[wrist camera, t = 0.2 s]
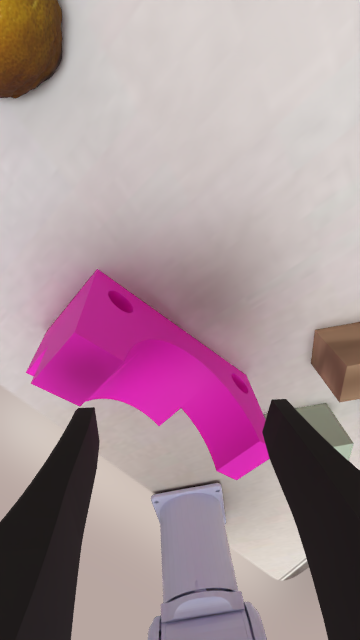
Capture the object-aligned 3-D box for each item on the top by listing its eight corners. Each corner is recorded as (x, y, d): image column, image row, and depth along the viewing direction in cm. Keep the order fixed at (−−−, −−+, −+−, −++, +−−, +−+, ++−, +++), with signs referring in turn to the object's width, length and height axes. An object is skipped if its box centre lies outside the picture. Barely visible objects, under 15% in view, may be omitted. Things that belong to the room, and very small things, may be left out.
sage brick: (321, 425, 30) (346, 467, 26) (263, 436, 30) (281, 479, 26) (325, 402, 28) (353, 443, 25) (264, 413, 28) (282, 456, 24)
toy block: (47, 330, 21) (5, 412, 15) (97, 267, 19) (74, 332, 13) (195, 414, 28) (210, 497, 21) (245, 373, 25) (279, 452, 19)
